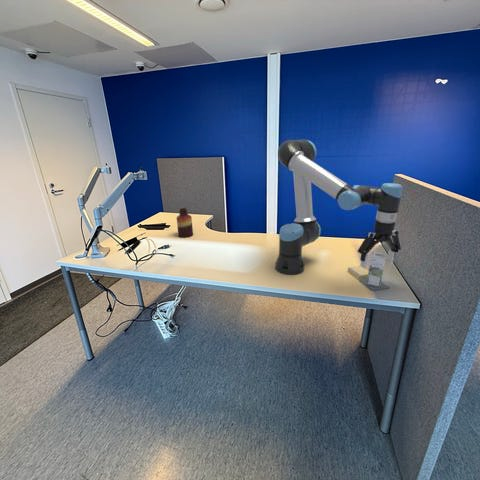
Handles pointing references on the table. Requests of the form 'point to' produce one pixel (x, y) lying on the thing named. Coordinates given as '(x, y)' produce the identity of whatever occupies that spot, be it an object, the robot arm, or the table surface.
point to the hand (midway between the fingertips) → (376, 265)
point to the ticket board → (359, 272)
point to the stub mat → (382, 286)
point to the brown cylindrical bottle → (184, 224)
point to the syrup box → (376, 269)
